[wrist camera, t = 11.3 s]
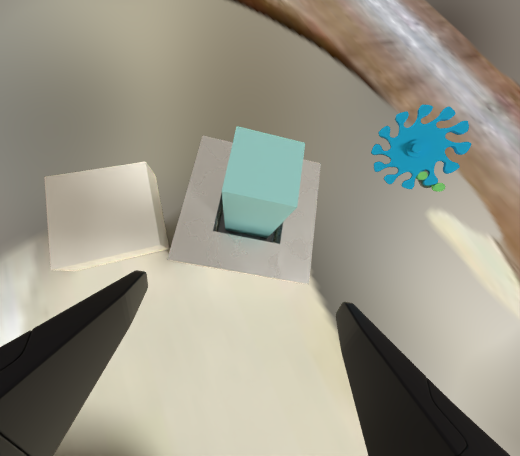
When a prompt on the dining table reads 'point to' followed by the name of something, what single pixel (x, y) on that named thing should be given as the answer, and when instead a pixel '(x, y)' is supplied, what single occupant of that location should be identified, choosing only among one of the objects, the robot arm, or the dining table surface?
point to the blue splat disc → (421, 148)
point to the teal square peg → (261, 182)
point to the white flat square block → (103, 216)
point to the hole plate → (238, 244)
